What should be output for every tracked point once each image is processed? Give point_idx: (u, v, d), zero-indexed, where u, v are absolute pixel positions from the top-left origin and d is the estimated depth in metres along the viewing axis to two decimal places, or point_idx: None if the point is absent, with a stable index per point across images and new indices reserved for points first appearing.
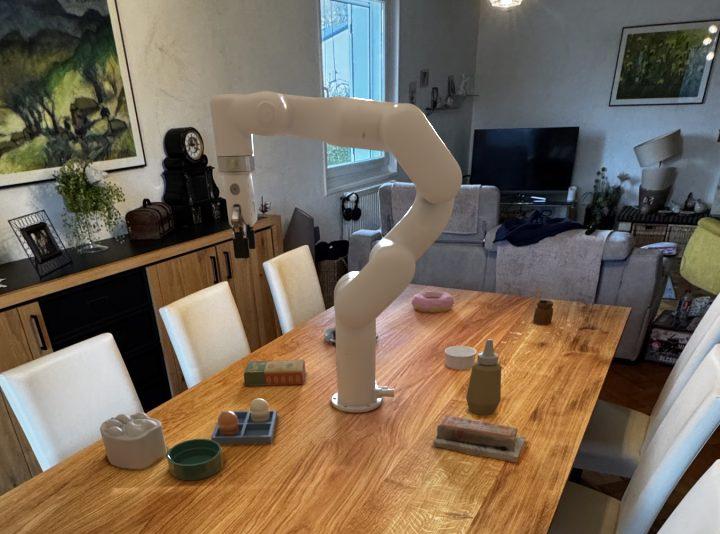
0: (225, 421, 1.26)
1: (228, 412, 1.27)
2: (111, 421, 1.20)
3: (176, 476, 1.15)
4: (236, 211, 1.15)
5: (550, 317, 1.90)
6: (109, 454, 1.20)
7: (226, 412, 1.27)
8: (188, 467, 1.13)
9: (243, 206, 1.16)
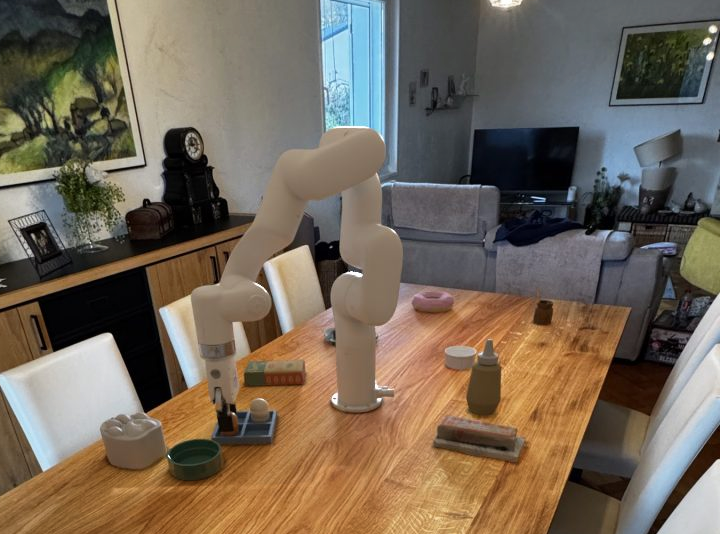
0: None
1: None
2: (111, 421, 1.20)
3: (176, 476, 1.15)
4: (218, 399, 1.19)
5: (550, 317, 1.90)
6: (109, 454, 1.20)
7: None
8: (188, 467, 1.13)
9: (224, 388, 1.18)
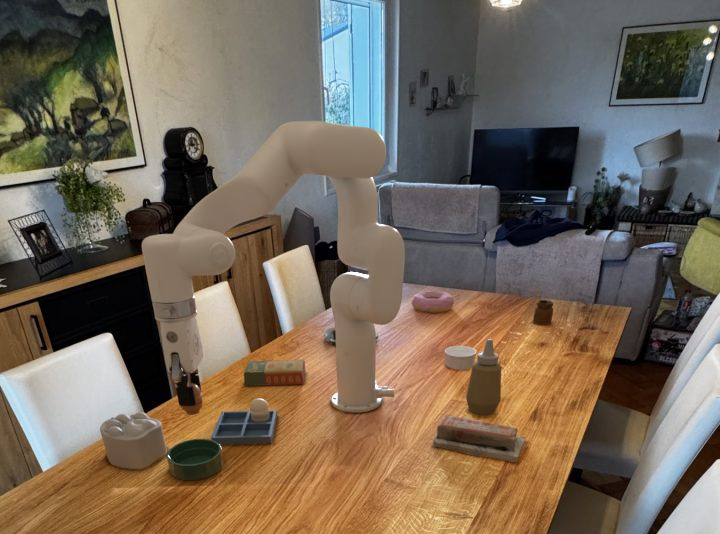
0: None
1: None
2: (111, 421, 1.20)
3: (176, 476, 1.15)
4: (176, 366, 1.03)
5: (550, 317, 1.90)
6: (109, 454, 1.20)
7: None
8: (188, 467, 1.13)
9: (182, 354, 1.03)
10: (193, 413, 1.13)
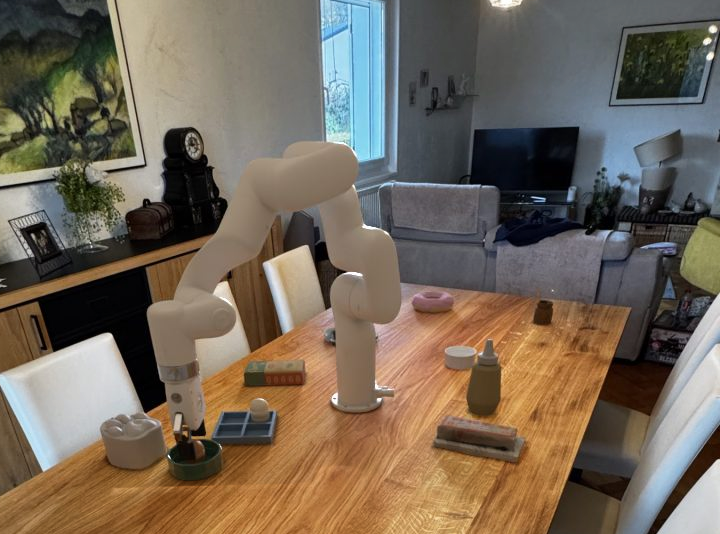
0: None
1: (193, 440, 1.16)
2: (111, 421, 1.20)
3: (176, 476, 1.15)
4: (178, 421, 1.06)
5: (550, 317, 1.90)
6: (109, 454, 1.20)
7: (191, 440, 1.16)
8: (188, 467, 1.13)
9: (186, 414, 1.07)
10: None
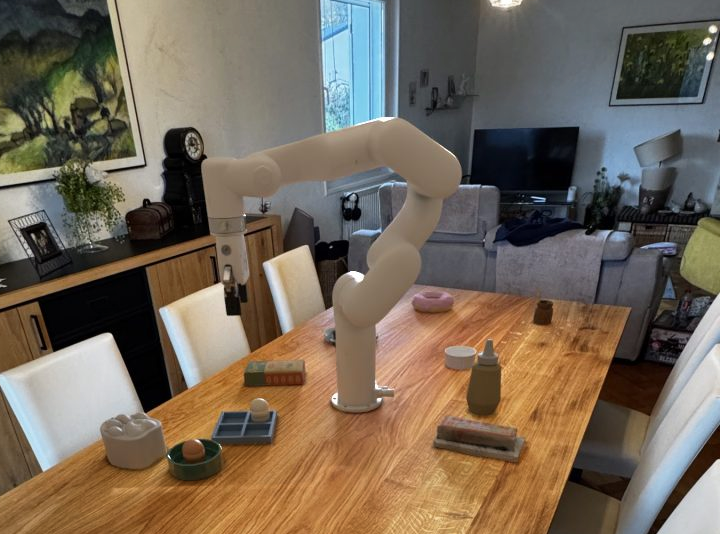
0: (189, 451, 1.15)
1: (193, 440, 1.16)
2: (111, 421, 1.20)
3: (176, 476, 1.15)
4: (227, 272, 1.15)
5: (550, 317, 1.90)
6: (109, 454, 1.20)
7: (191, 440, 1.16)
8: (188, 467, 1.13)
9: (234, 266, 1.16)
10: None
